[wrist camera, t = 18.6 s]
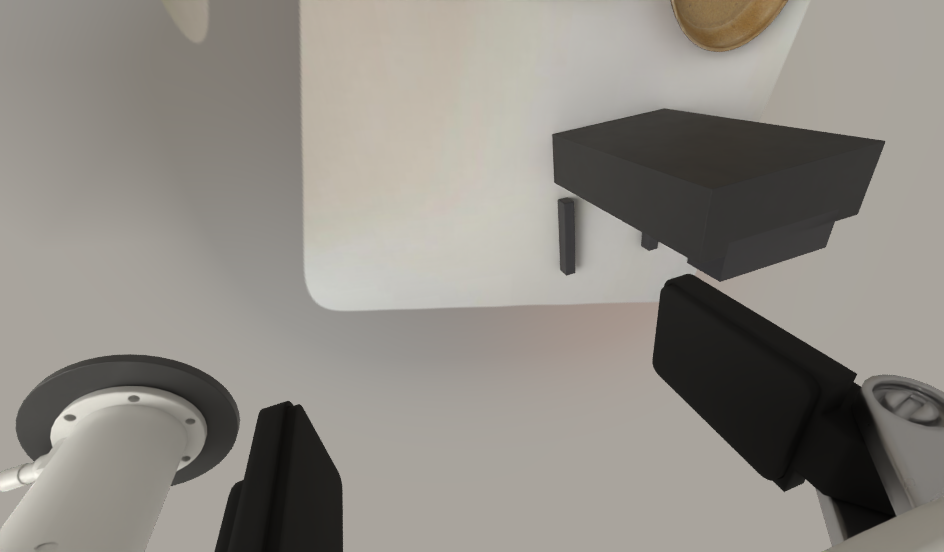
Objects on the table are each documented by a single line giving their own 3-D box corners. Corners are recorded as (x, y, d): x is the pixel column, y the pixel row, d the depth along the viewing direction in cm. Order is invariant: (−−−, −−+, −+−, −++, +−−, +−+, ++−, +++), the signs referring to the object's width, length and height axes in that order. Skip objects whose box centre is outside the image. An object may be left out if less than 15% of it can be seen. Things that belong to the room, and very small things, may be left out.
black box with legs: (557, 270, 47) (678, 385, 31) (552, 134, 39) (711, 189, 22) (651, 243, 50) (811, 336, 33) (664, 108, 41) (886, 140, 25)
